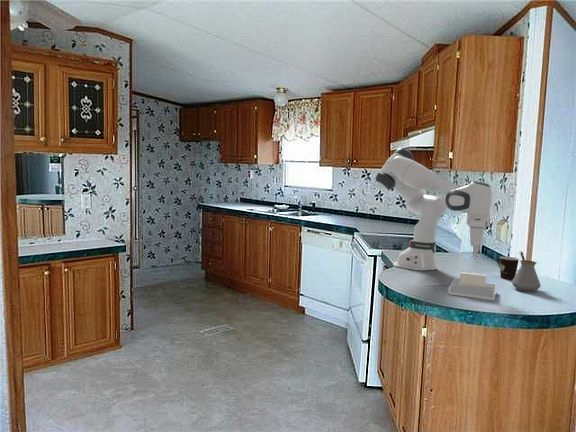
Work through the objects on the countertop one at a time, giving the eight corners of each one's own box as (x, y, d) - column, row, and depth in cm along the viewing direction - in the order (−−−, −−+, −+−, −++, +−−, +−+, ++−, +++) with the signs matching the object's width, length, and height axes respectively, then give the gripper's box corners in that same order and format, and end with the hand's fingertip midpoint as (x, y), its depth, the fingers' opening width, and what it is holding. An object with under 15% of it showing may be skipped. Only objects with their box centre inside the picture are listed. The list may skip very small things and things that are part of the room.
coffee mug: (519, 280, 227) (521, 260, 226) (500, 279, 229) (502, 259, 228) (512, 275, 239) (514, 256, 238) (494, 274, 240) (496, 255, 239)
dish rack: (448, 294, 198) (448, 284, 198) (451, 287, 210) (452, 278, 210) (494, 300, 191) (495, 290, 190) (495, 293, 202) (496, 284, 202)
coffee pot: (543, 294, 203) (546, 260, 201) (514, 291, 206) (516, 258, 204) (531, 283, 223) (534, 252, 222) (505, 280, 226) (508, 250, 225)
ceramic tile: (458, 291, 199) (460, 273, 198) (459, 290, 201) (460, 271, 200) (484, 295, 195) (485, 276, 194) (484, 293, 197) (486, 274, 196)
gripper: (471, 218, 205) (469, 249, 207) (468, 222, 187) (465, 256, 188) (487, 219, 203) (485, 250, 204) (485, 224, 184) (482, 258, 186)
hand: (475, 253), depth 196 cm, fingers open, 8 cm apart
